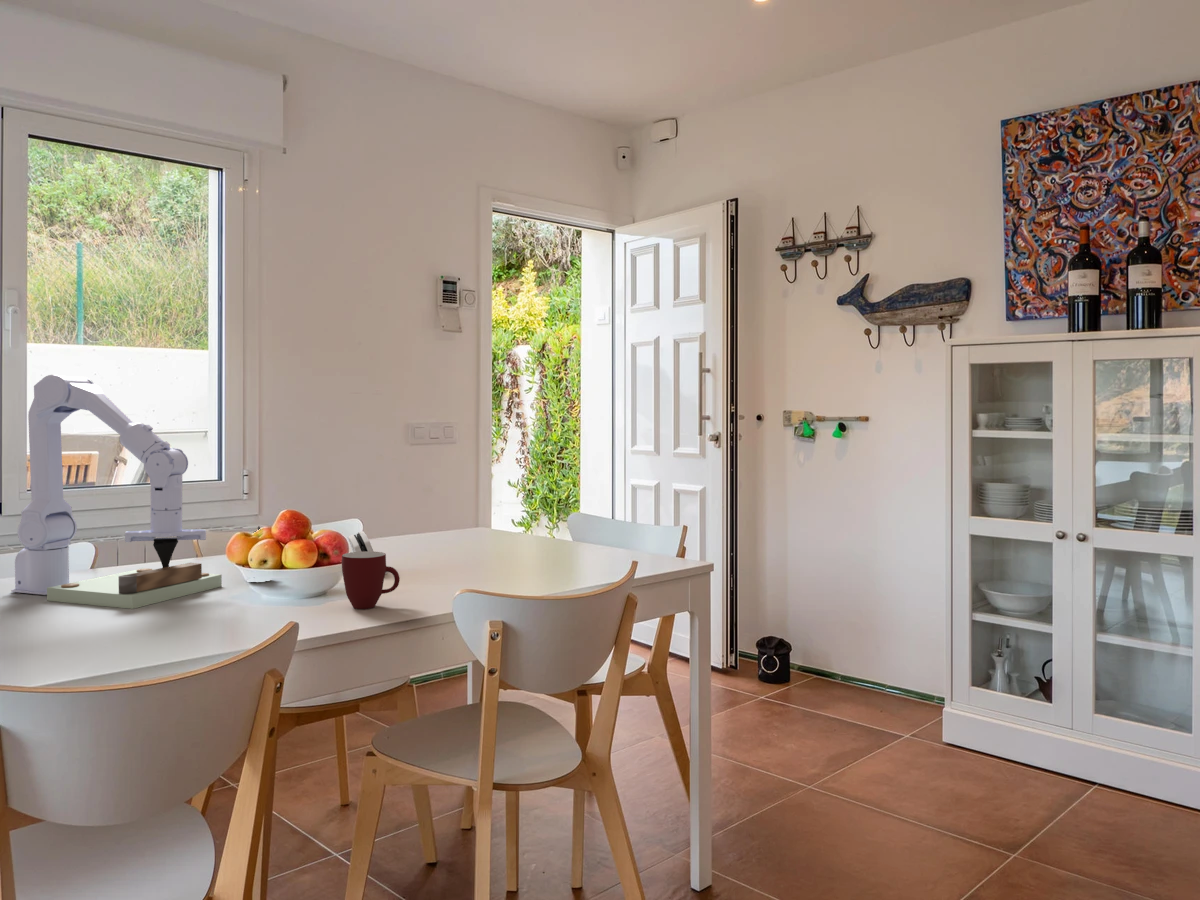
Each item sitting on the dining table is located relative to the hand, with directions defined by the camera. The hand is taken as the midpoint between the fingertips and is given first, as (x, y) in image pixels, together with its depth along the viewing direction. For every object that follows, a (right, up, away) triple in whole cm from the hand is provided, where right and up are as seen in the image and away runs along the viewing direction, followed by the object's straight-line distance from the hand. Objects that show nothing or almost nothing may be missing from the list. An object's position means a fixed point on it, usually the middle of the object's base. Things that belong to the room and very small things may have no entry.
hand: (166, 576), depth 176 cm
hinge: (+32, -3, +31) cm, 45 cm away
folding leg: (+1, -1, -5) cm, 5 cm away
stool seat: (-6, -4, +1) cm, 7 cm away
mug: (+44, -5, -10) cm, 45 cm away
